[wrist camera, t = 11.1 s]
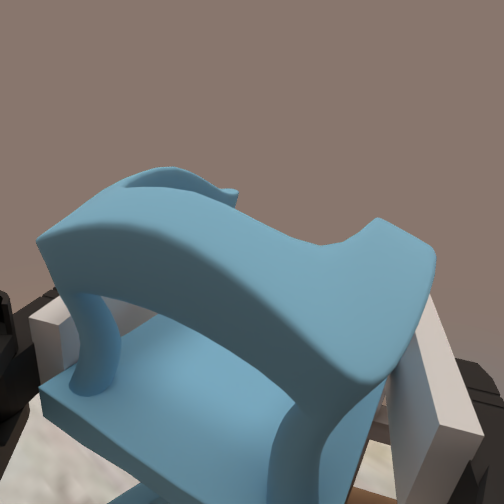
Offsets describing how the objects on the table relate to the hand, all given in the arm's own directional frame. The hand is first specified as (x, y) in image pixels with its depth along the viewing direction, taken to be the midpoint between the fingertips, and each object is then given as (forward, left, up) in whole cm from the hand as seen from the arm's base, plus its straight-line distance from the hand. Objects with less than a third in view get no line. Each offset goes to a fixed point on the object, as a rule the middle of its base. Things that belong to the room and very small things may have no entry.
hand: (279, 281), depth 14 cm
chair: (-5, +1, -7) cm, 9 cm away
